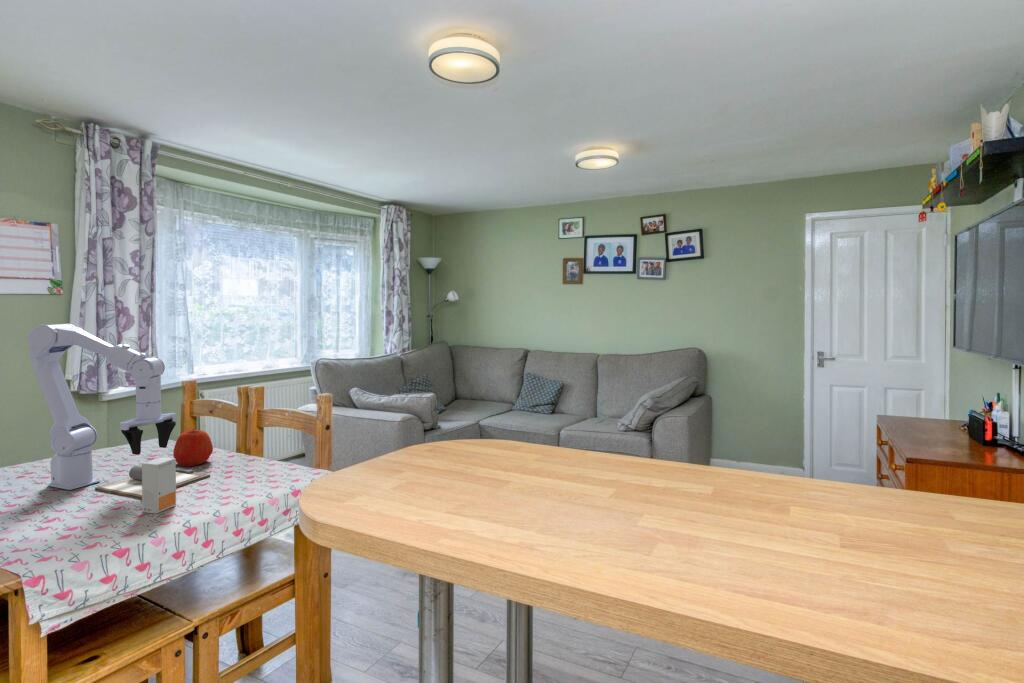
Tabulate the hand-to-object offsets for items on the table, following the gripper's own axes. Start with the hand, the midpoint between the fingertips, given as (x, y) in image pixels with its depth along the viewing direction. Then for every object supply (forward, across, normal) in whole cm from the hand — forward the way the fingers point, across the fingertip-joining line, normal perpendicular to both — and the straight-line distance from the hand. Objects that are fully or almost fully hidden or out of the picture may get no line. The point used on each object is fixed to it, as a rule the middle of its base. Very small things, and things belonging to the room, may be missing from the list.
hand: (150, 450), depth 151 cm
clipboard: (+9, +1, 0) cm, 9 cm away
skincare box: (+10, -12, -19) cm, 24 cm away
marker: (+8, +1, 0) cm, 8 cm away
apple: (+10, +19, +7) cm, 22 cm away
